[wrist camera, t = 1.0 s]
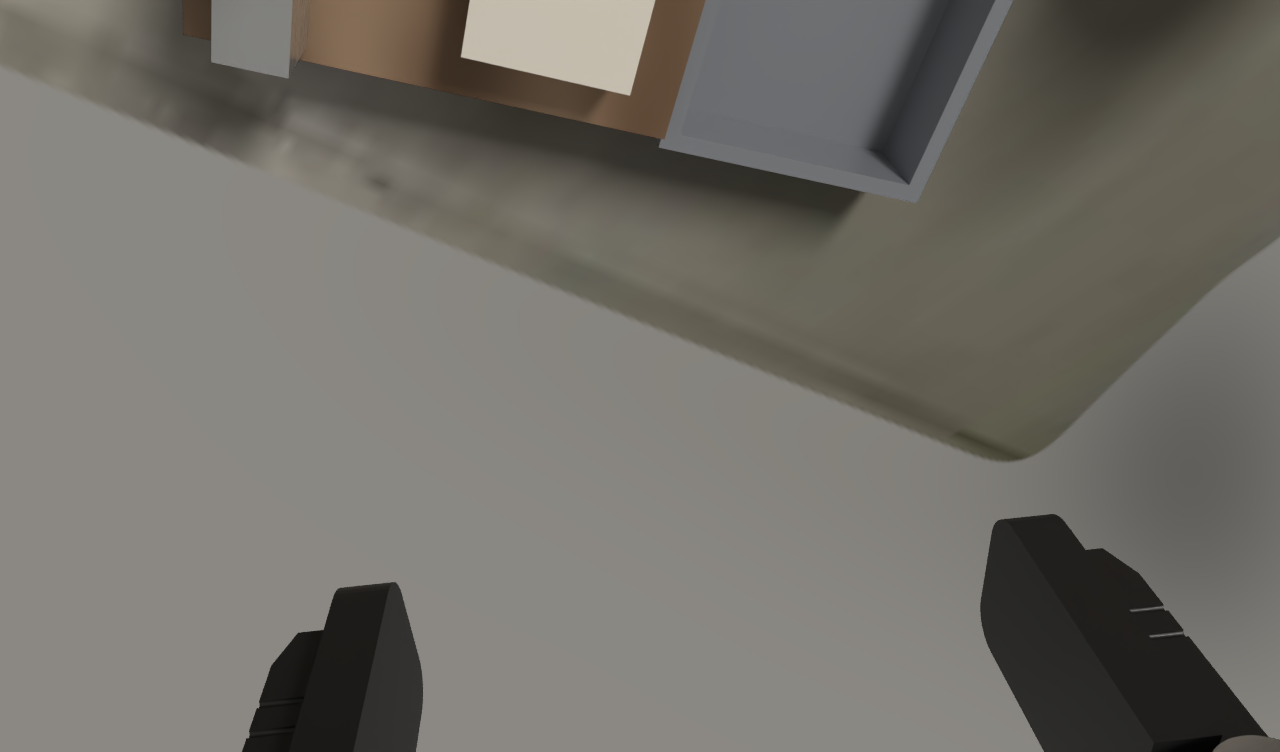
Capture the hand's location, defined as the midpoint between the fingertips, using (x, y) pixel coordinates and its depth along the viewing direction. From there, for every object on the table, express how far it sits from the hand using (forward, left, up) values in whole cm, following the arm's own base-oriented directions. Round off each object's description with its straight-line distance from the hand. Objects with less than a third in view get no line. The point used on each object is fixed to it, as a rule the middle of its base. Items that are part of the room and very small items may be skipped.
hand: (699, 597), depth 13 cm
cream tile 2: (-2, +3, -21) cm, 22 cm away
